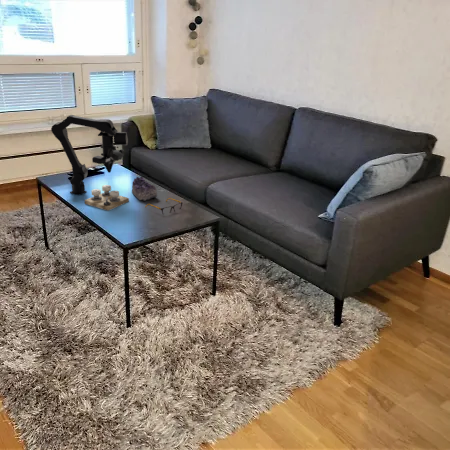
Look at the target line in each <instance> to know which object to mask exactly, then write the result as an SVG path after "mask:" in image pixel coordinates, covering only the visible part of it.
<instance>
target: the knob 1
mask: <svg viewBox="0 0 450 450" xmlns="http://www.w3.org/2000/svg"><path fill="white" fill-rule="evenodd" d="M101 194H102V192H101V189H100V188H99V189H98V188H94V189H91V196H92V197H94V198H95V199H98V198H99V195H101Z"/></svg>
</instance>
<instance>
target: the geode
mask: <svg viewBox="0 0 450 450" xmlns="http://www.w3.org/2000/svg"><path fill="white" fill-rule="evenodd" d="M131 189H132V190H131V193H132V194H133V195H134V197H136V199H138V200H139V201H142V202H146V201H149V200H151V199H153V198H154V199H155V198H157V196H158V195H157V194H158V193H157V192H158V191H157V188H156V186H155V185H153V184H151V183H149V182H148V181H147V180H145V178H144V177H143V175H142V176H140V177H138V176H136V178H133V181H132V187H131Z"/></svg>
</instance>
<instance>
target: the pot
mask: <svg viewBox="0 0 450 450" xmlns="http://www.w3.org/2000/svg"><path fill="white" fill-rule="evenodd" d="M104 205H106V206H108V205H111V203H110V202H108V197H106V202H104Z"/></svg>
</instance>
